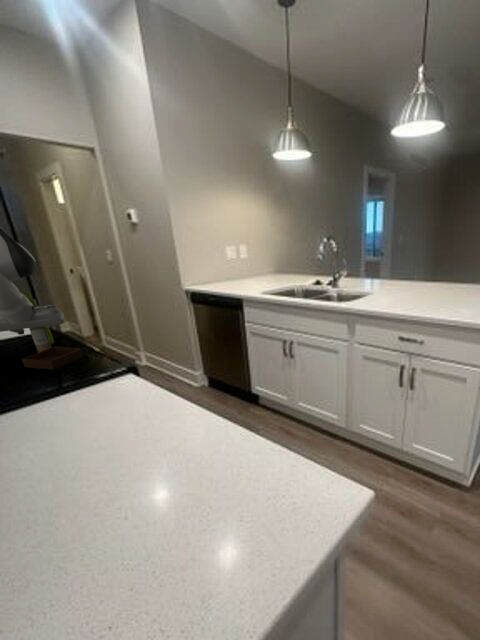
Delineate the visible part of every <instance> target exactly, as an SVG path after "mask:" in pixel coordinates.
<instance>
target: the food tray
mask: <svg viewBox="0 0 480 640" xmlns="http://www.w3.org/2000/svg"><path fill="white" fill-rule="evenodd" d="M83 356H84V357H85V353H84V350H83V348H80V347H79V348H78V347H67V346H66V347H65V346H52V348H49V349H47V350H44V351H42V352H39V353H38V352H37V353H34V354H31V355H29V356H26V357H23V358H21V362H22V365H23V367H24V368H29V369H41V370H51V371H55V370H57V369H59V368H62V367H64V366H67V365H68V364H70V363H73V362H75V361H78V360H80V359H81V358H84V357H83Z"/></svg>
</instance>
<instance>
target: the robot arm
mask: <svg viewBox="0 0 480 640" xmlns="http://www.w3.org/2000/svg"><path fill="white" fill-rule="evenodd" d="M36 268H37V261H36V259H35V257H34V256H33V255H32V253H31V252H30V250H28V249H26V248H25V247H24V246H23V245H21V244H20V243H19V242H17V241H16V240H15V239H14V238H13V237H12V236H11V235H9V233H8V232H7V231H5V229H4V228H2V227H1V226H0V333H1V332H11V333H15V334H17V335H19V336H20V335H25V330H26V329H29V328H34V327H42V326H49V329H50V331H51V332H52V331H57V326H58V325H63V324H64V323H65V315H64V312H63V311H61V310H60V309H59V308H58V307H57V306H56V305H53V304H42V305H37V306H33V304H32V303H31V302H30V301H29V300H28V299H27V298H26V297H25V295H24V293H23V292H21V291H20V290H19V289H18V287H17V286H16V284H15V283H13V282H15V281H17V280H19V279H23V278H26V277H29V276H32V275H34V273H35V271H36Z"/></svg>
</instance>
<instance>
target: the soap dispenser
mask: <svg viewBox="0 0 480 640" xmlns="http://www.w3.org/2000/svg"><path fill="white" fill-rule="evenodd" d="M22 294H23V295H24V296H25V297H26V298H27V299H28V300H29V301H30V302H31V303H32V304H33V306H38V303H37V301H36V299H35V298H33V297H32V293H31V290H22ZM44 327H45V329H46V332H47V334H48V337H49V340H50V343H51V345H53V344H54V343H55V340H54V337H53V336H54V335H53V333H52V331H51V330H50V329H49V326H44Z"/></svg>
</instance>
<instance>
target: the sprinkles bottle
mask: <svg viewBox="0 0 480 640" xmlns="http://www.w3.org/2000/svg"><path fill="white" fill-rule="evenodd" d="M28 329H29V332H30V335H31V337H32V340H33V343H34V345H35V348H36V351H37V353H39V352H42V351H44V350H47V349H49V348H52V347H53V346H52V344H51V343H50V340H49V337H48V334H47V332H46V329H45V327H44V326H42V327H34V328H28Z"/></svg>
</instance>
